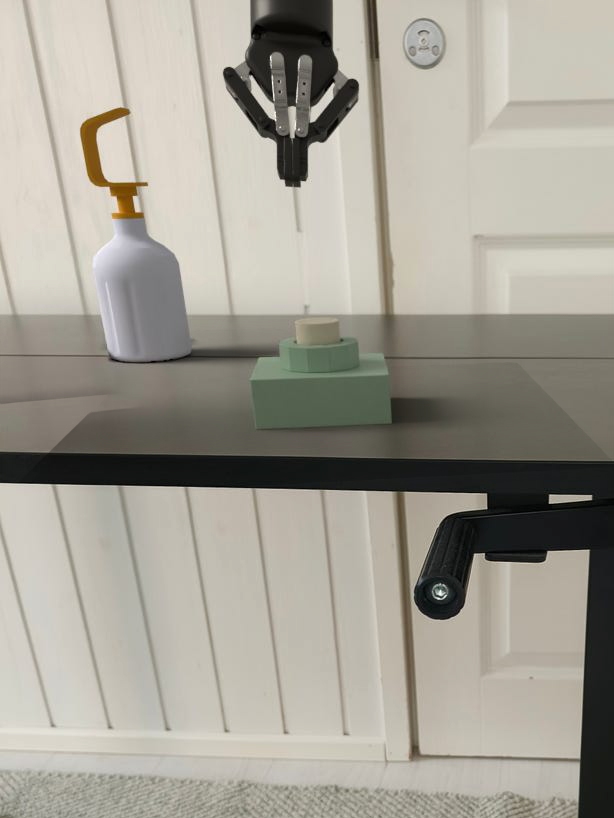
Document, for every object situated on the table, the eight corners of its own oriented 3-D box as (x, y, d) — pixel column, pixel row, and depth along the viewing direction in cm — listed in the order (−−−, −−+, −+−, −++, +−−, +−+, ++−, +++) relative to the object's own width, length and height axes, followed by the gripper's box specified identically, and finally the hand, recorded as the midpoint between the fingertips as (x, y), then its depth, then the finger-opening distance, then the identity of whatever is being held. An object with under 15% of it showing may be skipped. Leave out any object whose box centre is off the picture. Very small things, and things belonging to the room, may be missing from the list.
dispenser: (255, 430, 74) (246, 353, 71) (264, 402, 83) (255, 333, 80) (391, 424, 75) (387, 348, 72) (385, 397, 84) (381, 329, 81)
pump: (296, 350, 75) (293, 324, 74) (298, 343, 78) (295, 318, 77) (341, 349, 75) (339, 322, 74) (340, 341, 78) (338, 316, 77)
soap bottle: (183, 362, 101) (143, 105, 90) (99, 364, 100) (48, 105, 89) (199, 348, 109) (165, 110, 98) (122, 350, 108) (78, 111, 97)
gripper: (212, -46, 80) (215, 162, 81) (365, -29, 82) (364, 173, 83) (222, 4, 87) (225, 194, 89) (362, 19, 89) (362, 204, 91)
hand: (293, 183), depth 86 cm, fingers closed
